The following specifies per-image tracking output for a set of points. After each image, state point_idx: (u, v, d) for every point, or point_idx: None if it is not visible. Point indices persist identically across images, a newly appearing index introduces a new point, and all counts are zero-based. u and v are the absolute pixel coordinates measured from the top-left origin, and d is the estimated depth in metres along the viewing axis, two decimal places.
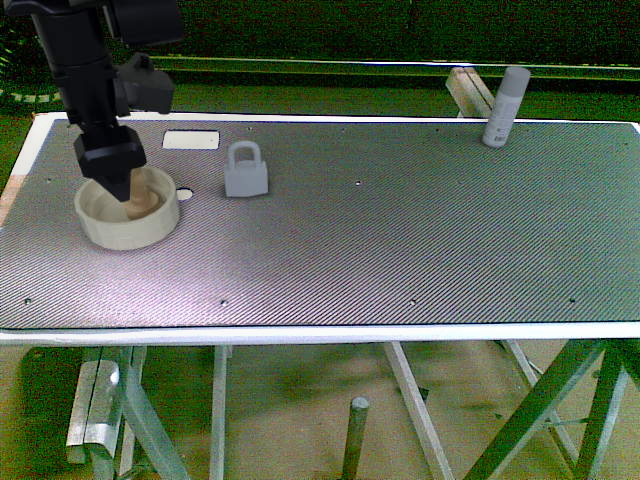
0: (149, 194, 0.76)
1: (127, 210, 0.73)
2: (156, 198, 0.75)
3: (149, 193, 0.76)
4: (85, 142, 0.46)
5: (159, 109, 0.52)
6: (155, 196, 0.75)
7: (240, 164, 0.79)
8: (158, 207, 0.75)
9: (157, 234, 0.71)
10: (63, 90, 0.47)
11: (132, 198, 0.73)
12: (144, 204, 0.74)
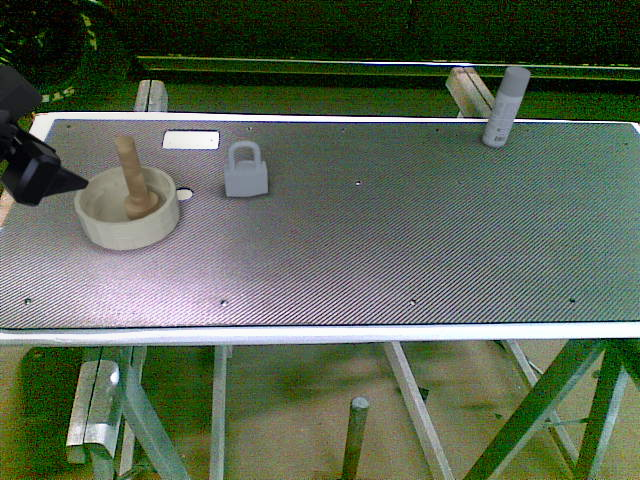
0: (149, 194, 0.76)
1: (127, 210, 0.73)
2: (156, 198, 0.75)
3: (149, 193, 0.76)
4: (7, 184, 0.51)
5: (31, 104, 0.53)
6: (155, 196, 0.75)
7: (240, 164, 0.79)
8: (158, 207, 0.75)
9: (157, 234, 0.71)
10: None
11: (132, 198, 0.73)
12: (144, 204, 0.74)
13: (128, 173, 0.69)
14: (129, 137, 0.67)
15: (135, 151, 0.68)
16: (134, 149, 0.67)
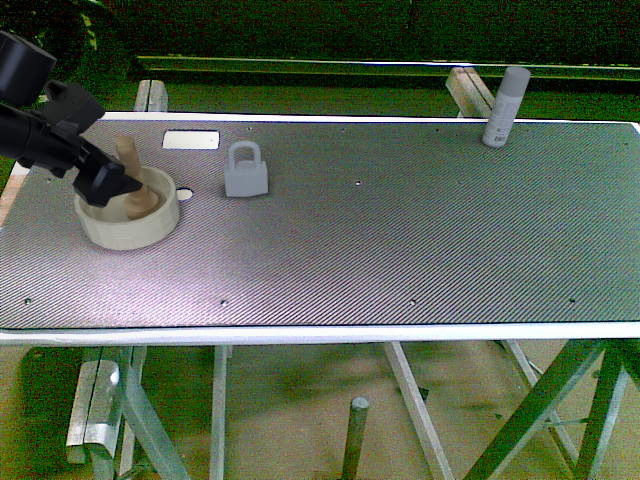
0: (149, 194, 0.76)
1: (127, 210, 0.73)
2: (156, 198, 0.75)
3: (149, 193, 0.76)
4: (80, 188, 0.57)
5: (97, 116, 0.59)
6: (155, 196, 0.75)
7: (240, 164, 0.79)
8: (158, 207, 0.75)
9: (157, 234, 0.71)
10: (35, 165, 0.58)
11: (132, 198, 0.73)
12: (144, 204, 0.74)
13: (128, 173, 0.69)
14: (129, 137, 0.67)
15: (135, 151, 0.68)
16: (134, 149, 0.67)
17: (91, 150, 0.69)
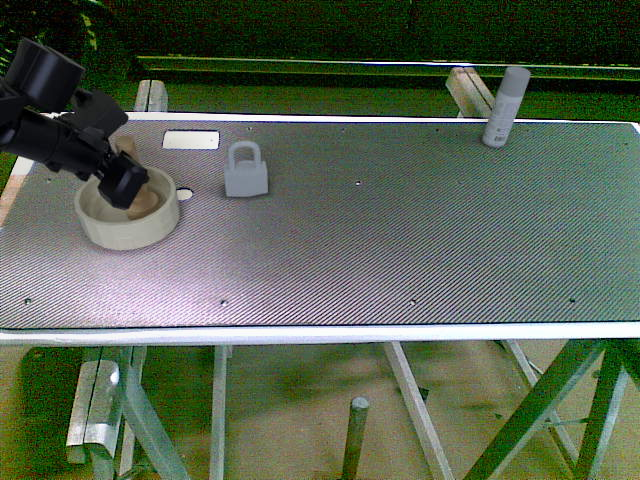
0: (149, 194, 0.76)
1: (127, 210, 0.73)
2: (156, 198, 0.75)
3: (149, 193, 0.76)
4: (105, 191, 0.60)
5: (120, 123, 0.62)
6: (155, 196, 0.75)
7: (240, 164, 0.79)
8: (158, 207, 0.75)
9: (157, 234, 0.71)
10: (62, 169, 0.61)
11: None
12: (144, 204, 0.74)
13: None
14: (129, 137, 0.67)
15: (135, 151, 0.68)
16: (134, 149, 0.67)
17: None
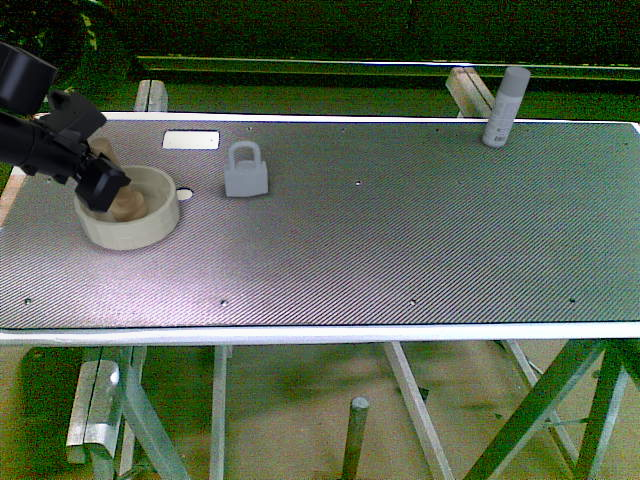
0: (134, 194, 0.75)
1: (113, 212, 0.73)
2: (141, 198, 0.74)
3: (135, 193, 0.75)
4: (82, 195, 0.59)
5: (98, 125, 0.61)
6: (140, 196, 0.74)
7: (240, 164, 0.79)
8: (144, 207, 0.74)
9: (157, 234, 0.71)
10: (38, 172, 0.60)
11: (116, 200, 0.72)
12: (129, 205, 0.73)
13: None
14: (104, 139, 0.66)
15: (112, 153, 0.67)
16: (110, 151, 0.66)
17: None
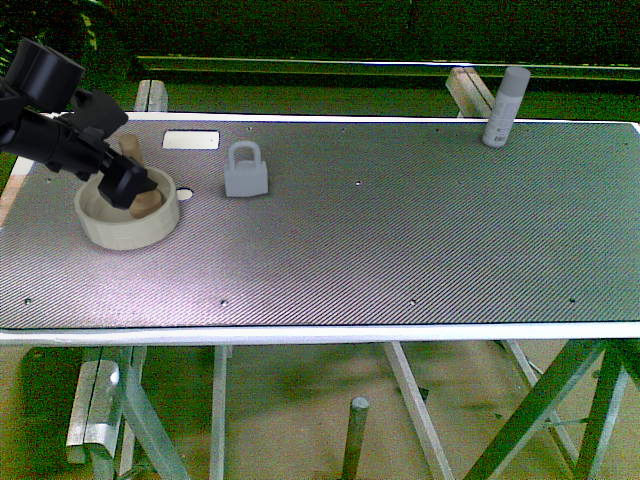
0: (152, 192, 0.76)
1: None
2: (159, 196, 0.75)
3: (153, 191, 0.76)
4: (105, 192, 0.60)
5: (120, 123, 0.62)
6: (158, 195, 0.76)
7: (240, 164, 0.79)
8: (161, 205, 0.76)
9: (157, 234, 0.71)
10: (62, 169, 0.61)
11: None
12: (146, 202, 0.74)
13: None
14: (133, 135, 0.68)
15: (138, 149, 0.68)
16: (137, 147, 0.68)
17: (115, 157, 0.71)
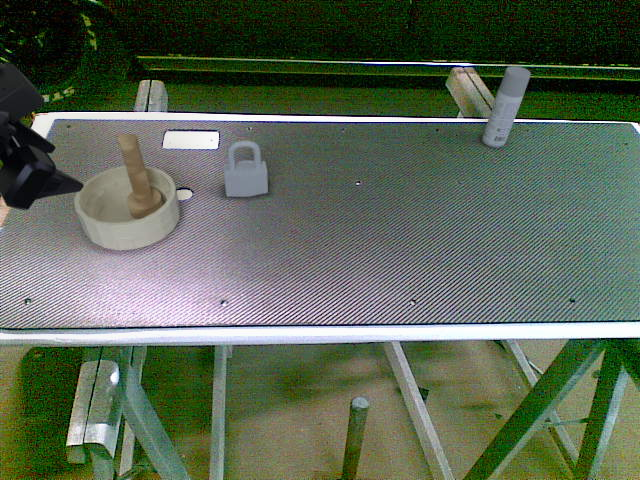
0: (152, 192, 0.76)
1: (129, 207, 0.74)
2: (159, 196, 0.75)
3: (153, 191, 0.76)
4: None
5: (32, 106, 0.52)
6: (158, 195, 0.76)
7: (240, 164, 0.79)
8: (161, 205, 0.76)
9: (157, 234, 0.71)
10: None
11: (135, 195, 0.73)
12: (146, 202, 0.74)
13: (131, 170, 0.70)
14: (133, 135, 0.68)
15: (138, 149, 0.68)
16: (137, 147, 0.68)
17: (33, 139, 0.62)
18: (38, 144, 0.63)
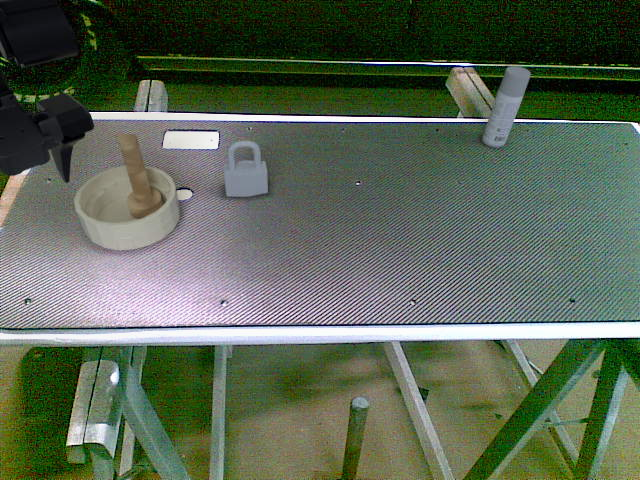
0: (152, 192, 0.76)
1: (129, 207, 0.74)
2: (159, 196, 0.75)
3: (153, 191, 0.76)
4: None
5: None
6: (158, 195, 0.76)
7: (240, 164, 0.79)
8: (161, 205, 0.76)
9: (157, 234, 0.71)
10: None
11: (135, 195, 0.73)
12: (146, 202, 0.74)
13: (131, 170, 0.70)
14: (133, 135, 0.68)
15: (138, 149, 0.68)
16: (137, 147, 0.68)
17: (59, 163, 0.59)
18: (59, 167, 0.60)
